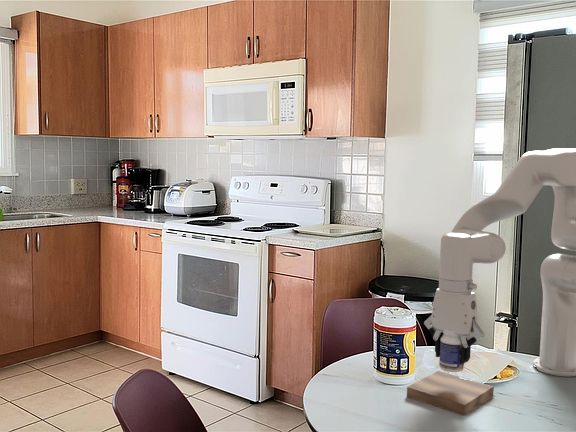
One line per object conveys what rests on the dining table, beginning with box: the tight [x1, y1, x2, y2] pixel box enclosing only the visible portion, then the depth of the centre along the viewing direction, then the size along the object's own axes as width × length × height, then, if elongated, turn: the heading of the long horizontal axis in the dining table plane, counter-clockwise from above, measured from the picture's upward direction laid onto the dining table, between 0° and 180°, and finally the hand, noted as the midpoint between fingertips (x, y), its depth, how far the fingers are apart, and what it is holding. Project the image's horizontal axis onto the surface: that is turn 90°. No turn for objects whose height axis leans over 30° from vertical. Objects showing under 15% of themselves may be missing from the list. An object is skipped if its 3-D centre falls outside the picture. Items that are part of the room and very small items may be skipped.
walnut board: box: [406, 370, 495, 416], centre depth 152 cm, size 15×15×2 cm
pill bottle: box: [438, 329, 465, 373], centre depth 151 cm, size 6×6×10 cm
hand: (452, 358), depth 151 cm, fingers closed on pill bottle, 5 cm apart
